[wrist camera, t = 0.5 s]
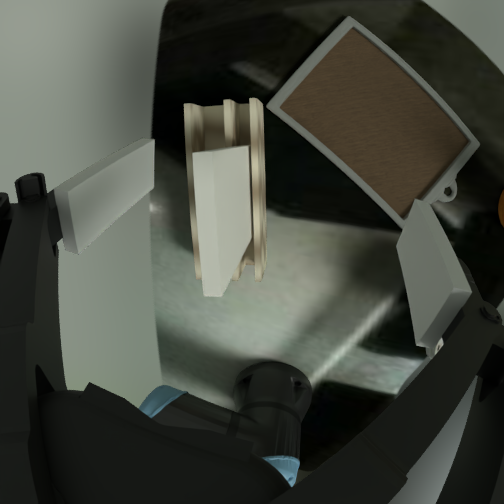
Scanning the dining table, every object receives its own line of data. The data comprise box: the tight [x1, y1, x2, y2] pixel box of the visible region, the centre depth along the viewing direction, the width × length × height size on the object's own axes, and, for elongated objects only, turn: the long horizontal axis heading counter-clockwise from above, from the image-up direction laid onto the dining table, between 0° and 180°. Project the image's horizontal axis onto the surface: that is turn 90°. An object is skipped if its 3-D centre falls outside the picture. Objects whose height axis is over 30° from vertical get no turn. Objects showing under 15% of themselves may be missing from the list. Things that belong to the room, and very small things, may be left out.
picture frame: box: [266, 16, 480, 229], centre depth 41 cm, size 19×2×30 cm
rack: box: [184, 98, 267, 282], centre depth 44 cm, size 24×9×7 cm, turn 2°
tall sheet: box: [192, 145, 254, 297], centre depth 36 cm, size 12×2×22 cm, turn 2°
